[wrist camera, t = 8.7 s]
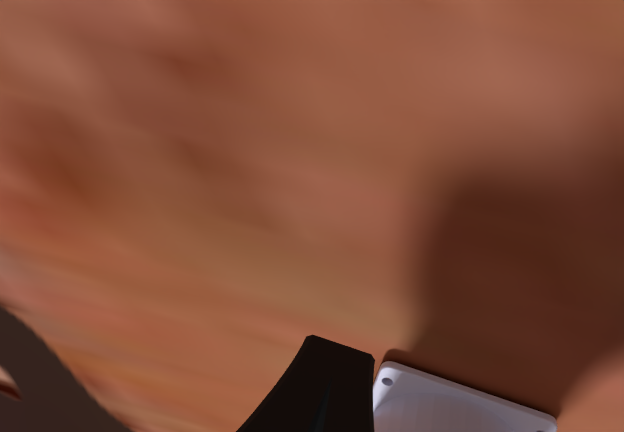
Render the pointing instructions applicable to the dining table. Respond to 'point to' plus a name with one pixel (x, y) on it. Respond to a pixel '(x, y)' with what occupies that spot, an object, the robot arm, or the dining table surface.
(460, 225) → the dining table surface
